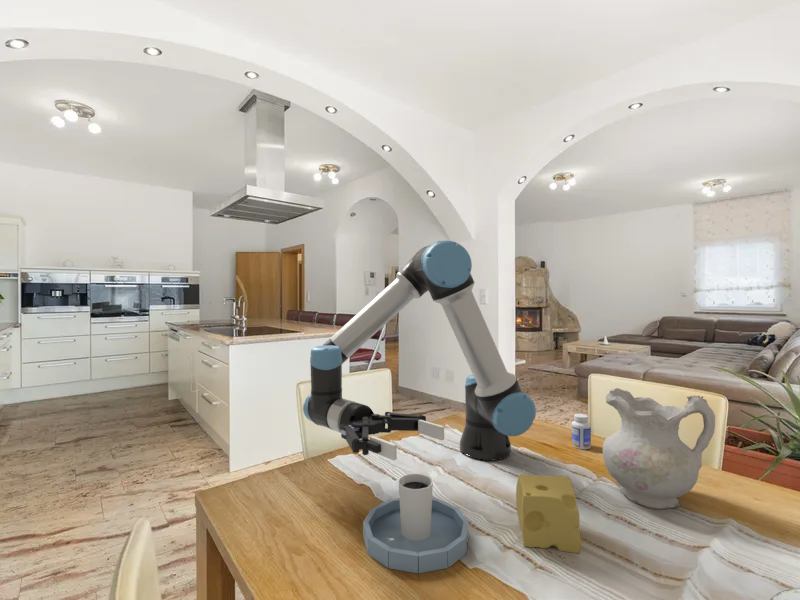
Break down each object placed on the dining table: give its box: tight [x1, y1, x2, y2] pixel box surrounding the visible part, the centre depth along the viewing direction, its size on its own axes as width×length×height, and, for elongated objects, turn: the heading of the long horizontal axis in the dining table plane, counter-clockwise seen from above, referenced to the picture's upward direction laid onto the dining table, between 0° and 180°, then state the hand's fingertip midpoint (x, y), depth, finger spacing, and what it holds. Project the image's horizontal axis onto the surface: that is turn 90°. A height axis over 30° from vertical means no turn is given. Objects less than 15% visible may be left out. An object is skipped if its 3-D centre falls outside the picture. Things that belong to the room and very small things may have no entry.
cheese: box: [515, 473, 582, 554], centre depth 80 cm, size 10×11×10 cm
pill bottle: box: [571, 413, 592, 450], centre depth 126 cm, size 5×5×10 cm
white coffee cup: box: [398, 473, 434, 541], centre depth 80 cm, size 7×7×10 cm
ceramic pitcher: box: [602, 387, 716, 510], centre depth 95 cm, size 22×20×25 cm
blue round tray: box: [362, 497, 470, 574], centre depth 80 cm, size 20×20×3 cm
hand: (420, 442), depth 78 cm, fingers open, 13 cm apart
